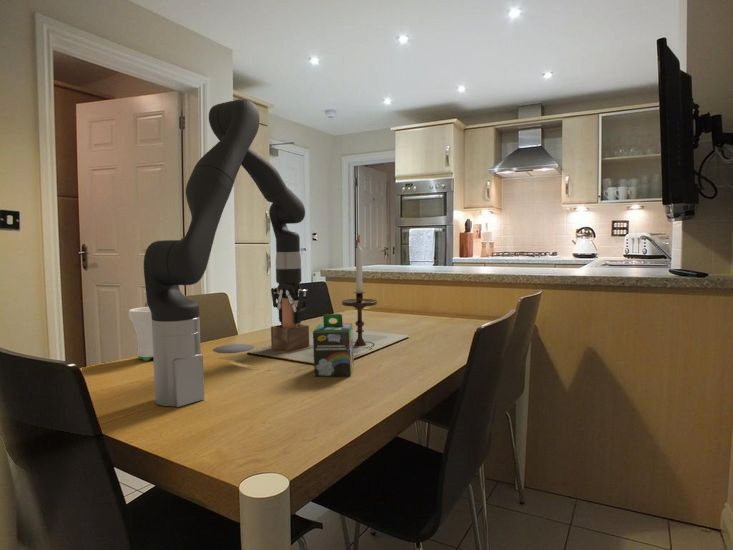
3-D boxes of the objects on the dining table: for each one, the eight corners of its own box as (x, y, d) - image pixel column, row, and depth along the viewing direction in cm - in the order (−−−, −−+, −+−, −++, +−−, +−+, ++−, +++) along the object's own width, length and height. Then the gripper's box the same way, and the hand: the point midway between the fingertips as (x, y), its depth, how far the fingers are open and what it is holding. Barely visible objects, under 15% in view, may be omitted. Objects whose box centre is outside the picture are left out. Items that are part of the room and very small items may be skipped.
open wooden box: (318, 348, 145) (318, 325, 144) (289, 356, 136) (288, 331, 135) (291, 343, 152) (291, 321, 152) (262, 350, 143) (261, 327, 142)
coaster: (262, 349, 144) (262, 347, 144) (229, 357, 135) (229, 355, 135) (238, 345, 152) (238, 342, 152) (204, 352, 142) (204, 349, 142)
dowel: (300, 346, 144) (299, 297, 143) (290, 349, 141) (288, 299, 140) (290, 345, 147) (289, 296, 146) (280, 347, 144) (278, 298, 142)
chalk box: (354, 366, 124) (353, 310, 123) (351, 377, 115) (350, 316, 114) (318, 366, 124) (317, 310, 123) (313, 377, 115) (311, 316, 114)
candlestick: (377, 351, 141) (376, 232, 138) (341, 351, 141) (339, 233, 139) (377, 343, 152) (376, 233, 149) (343, 343, 152) (341, 233, 149)
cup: (160, 351, 144) (158, 305, 143) (181, 356, 137) (179, 307, 136) (123, 359, 135) (120, 309, 134) (144, 365, 128) (141, 312, 127)
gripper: (314, 267, 141) (315, 323, 142) (281, 266, 150) (283, 319, 151) (295, 268, 135) (297, 327, 136) (263, 267, 144) (264, 322, 145)
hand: (289, 322), depth 143 cm, fingers open, 5 cm apart
